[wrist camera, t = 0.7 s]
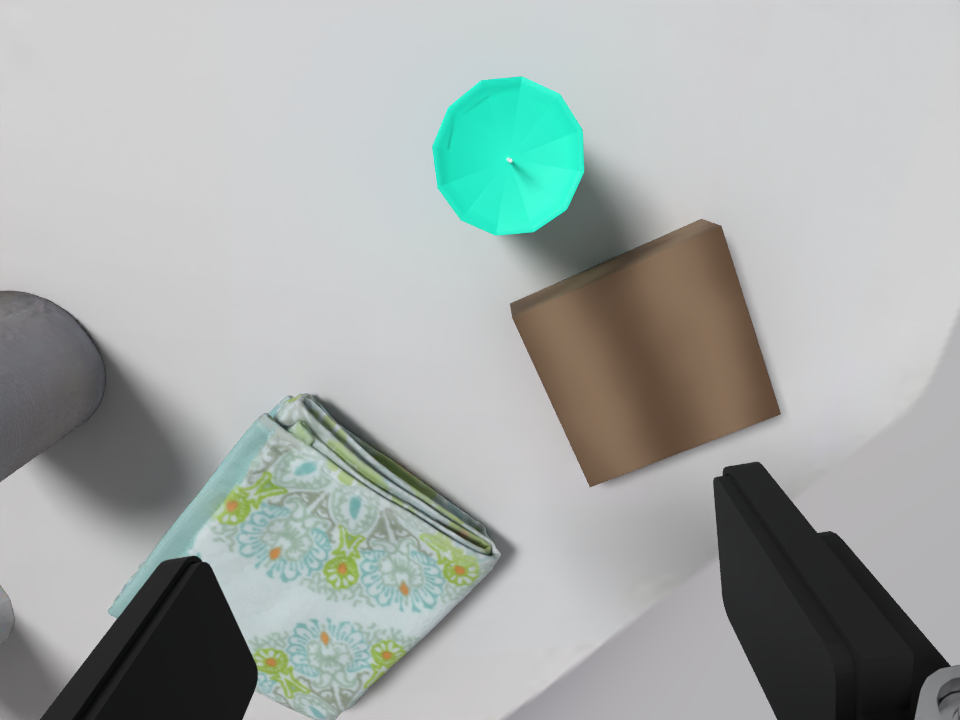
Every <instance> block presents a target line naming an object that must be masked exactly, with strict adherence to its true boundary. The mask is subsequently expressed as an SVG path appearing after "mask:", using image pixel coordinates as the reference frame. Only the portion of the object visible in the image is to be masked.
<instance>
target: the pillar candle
mask: <svg viewBox="0 0 960 720" xmlns="http://www.w3.org/2000/svg"><path fill="white" fill-rule="evenodd" d="M105 378H106V377H105V368H104V363H103V360H102V357H101V355H100V353H99V352H98V350H97V349H96V347H95V346H94V344H93V343H92V341H91V340H90V339H89V337H88V336H87V334H86V333H85V332H84V331H83V329H82V328H81V327H80V326H79V324H78V323H77V322H76V321H75V320H74V318H73V317H72V316H71V315H69V314H68V313H67V312H66V311H65V310H63V309H62V308H60V307H59V306H57V305H55V304H54V303H52V302H51V301H48V300H46V299H44V298H40V297H38V296H35V295H32V294H29V293H26V292H19V291H0V482H1V481H2V480H4V479H5V478H7V477H8V476H9V475H11V474H12V473H13V472H15V471H16V470H18V469H19V468H21V467H22V466H23V465H25V464H26V463H28V462H29V461H30V460H32V459H33V458H34V457H36V456H37V455H39V454H40V453H41V452H43V451H44V450H46V449H47V448H48V447H50V446H51V445H53V444H54V443H55V442H57V441H58V440H59V439H61V438H62V437H64V436H65V435H66V434H68V433H69V432H71V431H72V430H74V429H75V428H77V427H78V426H79V425H81V424H82V423H83V422H84V421H86V420H87V419H88V418H89V417H90V416H91V415H92V414H93V413H94V412H95V410H96V409H97V407H98V406H99V404H100V402H101V400H102V397H103V394H104V388H105V381H106V379H105Z"/></svg>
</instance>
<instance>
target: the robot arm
mask: <svg viewBox="0 0 960 720" xmlns="http://www.w3.org/2000/svg"><path fill="white" fill-rule="evenodd" d="M713 486H714V498H715V511H716V523H717V536H718V548H719V560H720V572H721V584H722V597H723V602H724V607H725V610H726V613H727V616H728V618H729V620H730V623H731V625H732V627H733V629H734V631H735V633H736V635H737V637H738V639H739V641H740V643H741V645H742V647H743V649H744V652H745V654H746V656H747V658H748V660H749V662H750V664H751V666H752V668H753V670H754V672H755V674H756V676H757V678H758V681H759V683H760V684H761V687H762V689H763V691H764V693H765V695H766V697H767V699H768V701H769V703H770V705H771V707H772V709H773V711H774V714H775V716H776V718H777V720H960V665H956V666H950V665H949V663H948V662H946V660H945V659H944V658H943V656H942V655H941V654H940V653H939V652H938V651H937V650H936V648H935V647H934V646H933V645H932V644H931V642H930V641H929V640H928V639H927V638H926V637H925V635H924V634H923V633H922V632H921V631H920V630H919V629H918V627H917V626H916V625H915V624H914V623H913V621H912V620H911V619H910V618H909V617H908V616H907V614H906V613H905V612H904V611H903V610H902V609H901V607H900V606H899V605H898V604H897V603H896V602H895V601H894V599H893V598H892V597H891V596H890V595H889V593H888V592H887V591H886V590H885V589H884V588H883V587H882V585H881V584H880V583H879V582H878V581H877V579H876V578H875V577H874V576H873V575H872V574H871V572H870V571H869V570H868V569H867V568H866V567H865V565H864V564H863V563H862V562H861V561H860V559H858V557H857V556H856V555H855V554H854V553H853V551H852V550H851V549H850V548H849V547H848V545H846V543H845V542H844V541H843V540H842V539H841V538H840V537H839V536H838V535H837V534H836V533H833V532H831V531H829V532H822V533H817V532H816V531H815V530H814V529H813V528H812V526H811V525H810V524H809V522H808V521H807V520H806V519H805V517H804V516H803V515H802V514H801V512H800V511H799V510H798V509H797V507H796V506H795V505H794V504H793V502H792V501H791V500H790V499H789V497H788V496H787V495H786V494H785V493H784V491H783V490H782V489H781V488H780V486H779V485H778V484H777V483H776V481H775V480H774V479H773V478H772V476H771V475H770V474H769V473H768V471H767V470H766V469H765V468H764V467H763V465H762V464H761V463H759V462H752V463H746V464H740V465H734V466H728V467H725V468H724V469H723V476H720V477H715V478H714V481H713ZM257 680H258V669H257V665H256V663H255V661H254V658H253V656H252V654H251V652H250V650H249V648H248V645H247V643H246V641H245V639H244V637H243V635H242V632H241V630H240V628H239V626H238V624H237V622H236V619H235V617H234V615H233V613H232V611H231V609H230V606H229V604H228V602H227V600H226V598H225V596H224V593H223V591H222V589H221V587H220V585H219V583H218V580H217V578H216V576H215V574H214V572H213V570H212V568H211V566H210V564H208V563H207V562H203V561H202V560H201V559H200V558H199V557H198V556H187V557H181V558H175V559H169V560H165V561H163V562H161V563H160V564H159V565H158V566H157V568H156V569H155V570H154V572H153V573H152V574H151V575H150V577H149V578H148V579H147V581H146V582H145V583H144V585H143V586H142V587H141V589H140V590H139V591H138V592H137V594H136V595H135V596H134V598H133V599H132V600H131V602H130V603H129V604H128V605H127V607H126V608H125V609H124V611H123V612H122V613H121V615H120V616H119V617H118V619H117V620H116V621H115V622H114V624H113V625H112V626H111V628H110V629H109V630H108V632H107V633H106V634H105V636H104V637H103V638H102V639H101V641H100V642H99V643H98V645H97V646H96V647H95V649H94V650H93V651H92V653H91V654H90V655H89V656H88V658H87V659H86V660H85V662H84V663H83V664H82V666H81V667H80V668H79V670H78V671H77V672H76V673H75V675H74V676H73V677H72V679H71V680H70V681H69V683H68V684H67V685H66V686H65V688H64V689H63V690H62V692H61V693H60V694H59V696H58V697H57V698H56V700H55V701H54V702H53V703H52V705H51V706H50V707H49V709H48V710H47V711H46V713H45V714H44V715H43V717H42V718H41V719H40V720H242V719H243V717H244V714H245V712H246V710H247V707H248V705H249V702H250V700H251V698H252V695H253V693H254V691H255V688H256V685H257Z"/></svg>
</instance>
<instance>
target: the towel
mask: <svg viewBox="0 0 960 720" xmlns="http://www.w3.org/2000/svg"><path fill="white" fill-rule="evenodd" d="M187 556H198V557H199V558H200V559H201V560H202V561H203V562H207V563H208V564H210V566H211V568H212V570H213V572H214V574H215V576H216V578H217V580H218V583H219V585H220V587H221V589H222V591H223V593H224V596H225V598H226V600H227V602H228V604H229V606H230V609H231V611H232V613H233V615H234V617H235V619H236V622H237V624H238V626H239V628H240V630H241V632H242V635H243V637H244V639H245V641H246V643H247V645H248V648H249V650H250V652H251V654H252V656H253V658H254V661H255V663H256V665H257V669H258V680H257V685H256V688H255V691H256V692H258V693H260V694H262V695H264V696H266V697H267V698H269V699H271V700H273V701H275V702H278V703H280V704H282V705H284V706H286V707H288V708H290V709H292V710H294V711H297V712H299V713H301V714H303V715H305V716H308V717H310V718H312V719H314V720H335V719H336V718H337V717H338V716H339V715H340V713H341V712H343V711H344V710H346V709H348V708H350V707H352V706H353V705H354V704H355V703H356V701H357V700H358V699H359V698H360V697H361V696H362V695H363V694H364V693H365V692H366V691H367V690H368V689H369V688H370V686H371V685H372V684H374V683H375V682H376V681H377V680H378V679H379V678H380V677H382V676H383V675H384V674H385V673H386V672H387V671H388V670H389V669H390V668H391V667H392V666H393V665H394V664H395V663H396V662H397V661H398V660H400V659H401V658H402V657H403V656H404V655H405V654H406V653H408V652H409V650H411V649H412V648H413V647H414V646H415V645H416V644H417V643H418V642H420V641H421V640H422V639H423V638H424V637H425V636H426V635H427V634H428V633H429V632H430V631H431V630H432V629H433V628H434V627H435V626H436V625H437V624H438V623H439V622H440V621H441V620H442V619H443V618H444V617H445V616H446V615H447V614H448V613H449V612H450V611H451V610H452V609H453V608H454V607H455V606H456V605H457V604H458V603H459V602H461V601H462V600H463V599H464V598H465V597H466V596H467V595H468V594H469V593H470V592H471V591H472V590H473V589H474V588H475V587H476V586H477V585H478V584H479V583H480V582H481V580H482V579H483V578H485V577H486V576H487V575H488V573H489V572H490V571H491V570H492V569H493V568H494V564H495V563H496V562H497V561H498V560H499V558H500V557H501V553H500V552H499V550H498V549H497V548H496V546H495V544H494V542H493V541H492V540H491V538H490V537H489V536H488V535H487V532H486V528H485V526H484V525H483V524H482V523H481V522H479V521H476V520H474V519H473V518H472V517H471V516H470V515H468V514H467V513H465V512H463V511H462V510H461V509H459V508H458V507H456V506H455V505H453V504H452V503H450V502H449V501H448V500H446V499H445V498H444V497H442V496H441V495H440V494H438V493H437V492H436V491H434V490H433V489H432V488H430V487H429V486H428V485H426V484H425V483H423V482H422V481H421V480H419V479H418V478H417V477H415V476H414V475H413V474H411V473H410V472H408V471H407V470H406V469H404V468H403V467H401V466H400V465H399V464H397V463H396V462H394V461H393V460H391V459H389V458H388V457H387V456H385V455H383V454H382V453H380V452H378V451H377V450H375V449H374V448H372V447H371V446H369V445H368V444H367V443H365V442H363V441H362V440H361V439H360V438H358V437H356V436H355V435H353V434H352V433H351V432H349V431H348V430H347V429H345V428H344V427H342V426H341V425H339V424H338V423H337V422H336V421H335V420H334V419H333V418H332V417H331V415H330V414H329V413H328V412H327V411H326V410H325V408H324V407H323V406H322V405H321V404H320V403H319V402H318V401H316V400H315V399H314V398H313V397H312V396H311V395H310V394H307V393H306V394H300V395H298V396H296V397H291V396H287V397H285V398H284V399H283V400H282V401H281V402H280V404H278V405H277V406H276V407H275V408H274V409H273V410H272V411H271V412H270V413H269V414H268V413H264V414H263V415H261V416H260V417H259V418H258V419H257V420H256V421H255V422H254V424H253V425H252V426H251V427H250V428H249V429H248V430H247V431H246V433H245V434H244V435H243V436H242V437H241V439H240V440H239V441H238V442H237V444H236V445H235V446H234V448H233V449H232V450H231V452H230V453H229V454H228V455H227V457H226V458H225V459H224V461H223V462H222V463H221V465H220V466H219V467H218V469H217V470H216V471H215V473H214V474H213V475H212V476H211V478H210V479H209V480H208V482H207V483H206V484H205V486H204V487H203V488H202V490H201V491H200V492H199V493H198V495H197V496H196V497H195V498H194V500H193V501H192V502H191V503H190V504H189V505H188V506H187V508H186V509H185V510H184V511H183V513H182V514H181V515H180V516H179V518H178V519H177V520H176V521H175V523H174V524H173V525H172V526H171V528H170V529H169V530H168V531H167V533H166V534H165V535H164V537H163V538H162V539H161V541H160V542H159V544H158V545H157V546H156V548H155V549H154V550H153V552H152V553H151V554H150V555H149V557H148V558H147V560H146V561H145V562H143V563H142V564H141V565H140V566H139V569H138V571H137V572H136V573H135V574H134V575H133V576H132V577H131V578H130V580H129V581H128V583H127V584H126V585H125V586H124V588H123V589H122V590H121V592H120V594H119V596H118V597H117V598H116V599H115V601H114V603H113V606H112V607H111V608H109V609H108V613H109V614H110V615H111V616H114V617H116V618H118V617H119V616H120V615H121V613H122V612H123V611H124V609H125V608H126V607H127V605H128V604H129V603H130V602H131V600H132V599H133V598H134V596H135V595H136V594H137V592H138V591H139V590H140V589H141V587H142V586H143V585H144V583H145V582H146V581H147V579H148V578H149V577H150V575H151V574H152V573H153V572H154V570H155V569H156V568H157V566H158V565H159V564H160V563H161V562H163V561H165V560H169V559H175V558H181V557H187Z"/></svg>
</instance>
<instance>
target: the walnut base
mask: <svg viewBox="0 0 960 720" xmlns="http://www.w3.org/2000/svg"><path fill="white" fill-rule="evenodd" d="M510 307H511V313H512V318H513V320H514V323H515V325H516V327H517V329H518V331H519V333H520V336H521V338H522V340H523V342H524V344H525V347H526V349H527V351H528V353H529V355H530V357H531V360H532V362H533V364H534V366H535V368H536V370H537V373H538V375H539V377H540V379H541V381H542V384H543V386H544V388H545V390H546V392H547V394H548V397H549V399H550V401H551V403H552V405H553V408H554V410H555V412H556V414H557V416H558V418H559V421H560V423H561V425H562V427H563V429H564V431H565V434H566V436H567V438H568V440H569V442H570V445H571V447H572V449H573V451H574V453H575V455H576V458H577V460H578V462H579V464H580V466H581V469H582V471H583V473H584V475H585V477H586V479H587V482H588V484H589V486H590V487H592V486H595V485H597V484H600V483H603V482H605V481H608V480H610V479H613V478H616V477H618V476H621V475H624V474H626V473H629V472H631V471H634V470H637V469H639V468H642V467H644V466H647V465H650V464H652V463H655V462H657V461H660V460H663V459H665V458H668V457H670V456H673V455H676V454H678V453H681V452H684V451H686V450H689V449H691V448H694V447H697V446H699V445H702V444H704V443H707V442H710V441H712V440H715V439H717V438H720V437H723V436H725V435H728V434H730V433H733V432H736V431H738V430H741V429H744V428H746V427H749V426H751V425H754V424H757V423H759V422H762V421H764V420H767V419H770V418H772V417H775V416H777V415H780V414H781V413H780V410H779V407H778V404H777V400H776V397H775V394H774V391H773V388H772V385H771V381H770V378H769V375H768V372H767V369H766V366H765V362H764V359H763V356H762V353H761V350H760V347H759V344H758V340H757V337H756V334H755V331H754V328H753V325H752V321H751V318H750V315H749V312H748V309H747V306H746V303H745V299H744V296H743V293H742V290H741V287H740V284H739V280H738V277H737V274H736V271H735V268H734V265H733V261H732V258H731V255H730V252H729V249H728V246H727V243H726V239H725V236H724V233H723V230H722V227H721V226H720V225H717V224H714V223H711V222H709V221H706V220H703V219H701V220H698V221H696V222H694V223H692V224H689V225H687V226H685V227H682V228H680V229H678V230H676V231H673V232H671V233H669V234H667V235H664V236H662V237H660V238H658V239H655V240H653V241H651V242H649V243H646V244H644V245H642V246H640V247H637V248H635V249H633V250H631V251H628V252H626V253H624V254H621V255H619V256H617V257H615V258H612V259H610V260H608V261H606V262H603V263H601V264H599V265H597V266H594V267H592V268H590V269H588V270H585V271H583V272H581V273H579V274H576V275H574V276H572V277H570V278H567V279H565V280H563V281H560V282H558V283H556V284H554V285H551V286H549V287H547V288H545V289H542V290H540V291H538V292H536V293H533V294H531V295H529V296H527V297H524V298H522V299H520V300H518V301H515V302H513V303H511V304H510Z"/></svg>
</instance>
